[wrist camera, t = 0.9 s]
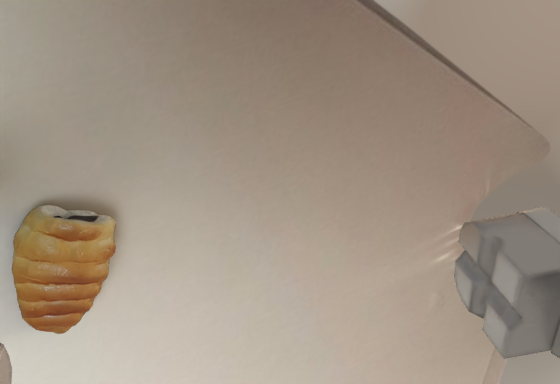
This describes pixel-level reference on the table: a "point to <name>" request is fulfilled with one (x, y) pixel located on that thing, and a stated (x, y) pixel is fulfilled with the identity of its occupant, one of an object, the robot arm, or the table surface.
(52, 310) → the pastry
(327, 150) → the table surface
